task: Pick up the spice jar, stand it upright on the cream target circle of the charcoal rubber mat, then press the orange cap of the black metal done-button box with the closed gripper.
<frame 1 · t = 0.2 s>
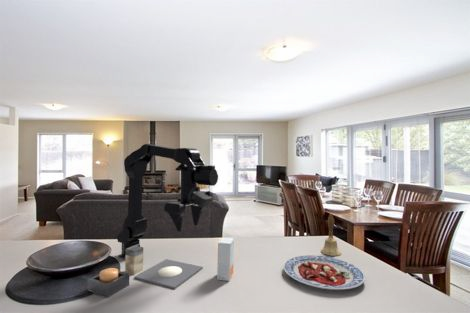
hand: (187, 228, 93), 14 cm above the kitchen counter, fingers open, 9 cm apart
button box: (108, 288, 79), on the kitchen counter
skincare box: (225, 277, 87), on the kitchen counter
spice jar: (134, 271, 90), on the kitchen counter
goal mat: (170, 273, 89), on the kitchen counter
done button: (109, 275, 79), point 4 cm above the kitchen counter, slide at 0.0 cm
ceramic plate: (322, 276, 89), on the kitchen counter
hand bell: (330, 252, 111), on the kitchen counter
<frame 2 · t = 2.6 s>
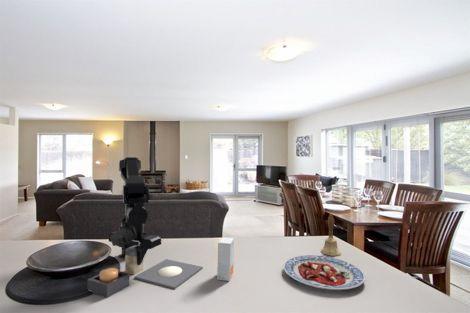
hand: (134, 263, 90), 3 cm above the kitchen counter, fingers closed on spice jar, 4 cm apart
spice jar: (134, 271, 90), on the kitchen counter, touching gripper
everything else where it was.
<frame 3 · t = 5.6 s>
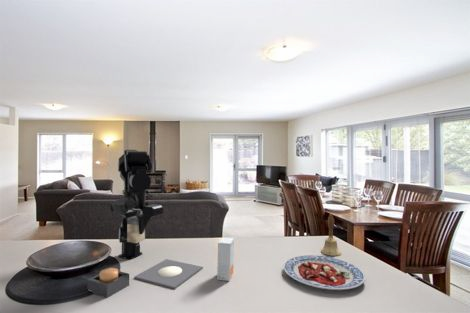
hand: (136, 233, 90), 13 cm above the kitchen counter, fingers closed on spice jar, 4 cm apart
spice jar: (136, 240, 90), point 10 cm above the kitchen counter, touching gripper
everything else where it was.
when the fingers open (4 cm above the kitchen counter, at t = 8.9 s): spice jar drops 1 cm, resting on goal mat.
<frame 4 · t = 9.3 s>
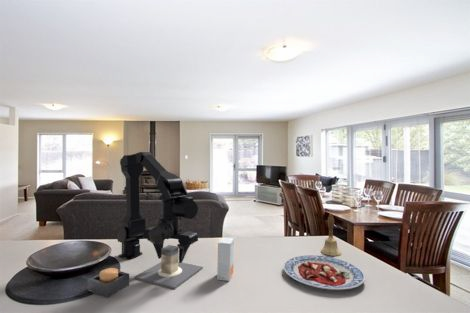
hand: (170, 260, 89), 4 cm above the kitchen counter, fingers open, 8 cm apart
spice jar: (169, 271, 89), point 1 cm above the kitchen counter, touching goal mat
everything else where it was.
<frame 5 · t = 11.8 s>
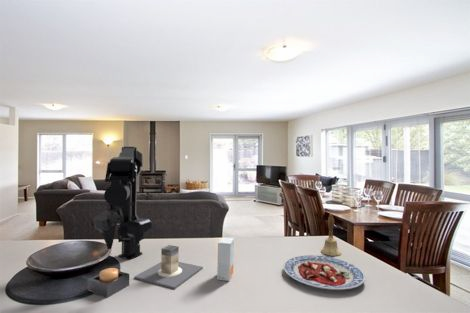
hand: (120, 251, 80), 11 cm above the kitchen counter, fingers open, 9 cm apart
nothing on the kitchen counter moved.
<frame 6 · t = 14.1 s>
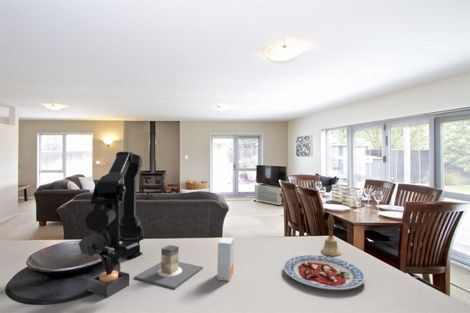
hand: (109, 274, 79), 4 cm above the kitchen counter, fingers closed, pressing on done button
done button: (108, 278, 79), point 3 cm above the kitchen counter, slide at 0.7 cm, touching gripper
everything else where it was.
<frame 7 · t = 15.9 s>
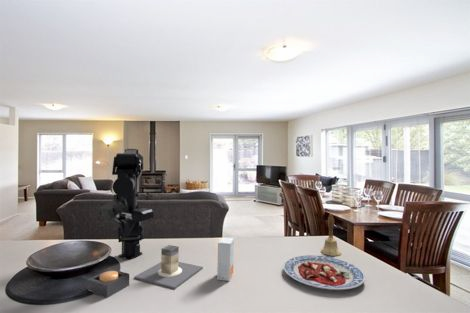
hand: (126, 237, 88), 12 cm above the kitchen counter, fingers closed
done button: (108, 278, 79), point 3 cm above the kitchen counter, slide at 0.9 cm
everything else where it was.
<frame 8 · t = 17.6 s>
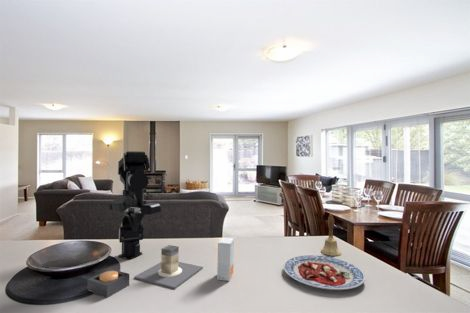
hand: (134, 231, 93), 13 cm above the kitchen counter, fingers closed
nothing on the kitchen counter moved.
at the end: spice jar inside the target area on the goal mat (0.1 cm from its centre), point 0.7 cm above the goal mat's base; spice jar tilted 0°; done button slide at 0.9 cm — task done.
